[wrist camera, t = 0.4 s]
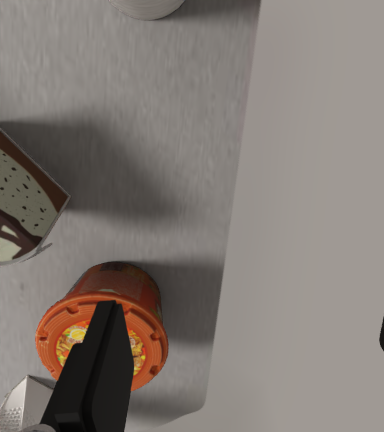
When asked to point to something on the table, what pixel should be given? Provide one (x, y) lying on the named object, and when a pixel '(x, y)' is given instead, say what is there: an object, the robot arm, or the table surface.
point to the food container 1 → (25, 203)
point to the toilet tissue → (146, 8)
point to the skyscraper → (24, 405)
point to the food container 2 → (84, 308)
